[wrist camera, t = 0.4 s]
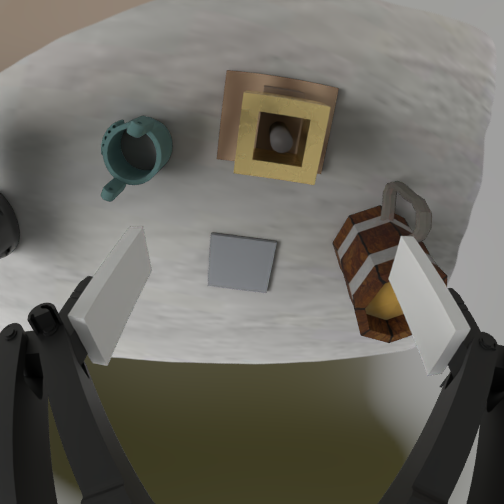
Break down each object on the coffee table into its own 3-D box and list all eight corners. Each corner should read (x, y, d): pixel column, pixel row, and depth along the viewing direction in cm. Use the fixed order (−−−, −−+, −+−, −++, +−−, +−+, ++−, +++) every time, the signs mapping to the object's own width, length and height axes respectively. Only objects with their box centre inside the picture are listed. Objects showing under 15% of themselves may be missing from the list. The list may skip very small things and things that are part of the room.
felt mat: (208, 283, 52) (207, 285, 52) (211, 232, 47) (210, 234, 46) (266, 290, 53) (266, 293, 52) (276, 241, 47) (276, 243, 47)
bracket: (165, 108, 37) (140, 118, 29) (178, 170, 42) (158, 194, 34) (109, 122, 38) (76, 136, 30) (123, 180, 43) (96, 205, 35)
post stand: (217, 156, 40) (199, 192, 29) (227, 70, 34) (210, 68, 23) (319, 171, 41) (340, 212, 30) (336, 87, 34) (368, 95, 23)
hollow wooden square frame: (237, 159, 34) (233, 173, 29) (246, 89, 29) (243, 92, 25) (307, 169, 34) (314, 185, 30) (321, 102, 30) (330, 107, 25)
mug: (398, 276, 50) (428, 339, 38) (327, 277, 51) (343, 345, 38) (425, 171, 40) (479, 217, 27) (342, 163, 40) (377, 209, 28)
